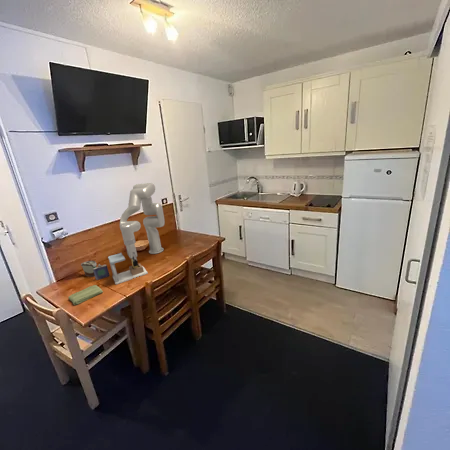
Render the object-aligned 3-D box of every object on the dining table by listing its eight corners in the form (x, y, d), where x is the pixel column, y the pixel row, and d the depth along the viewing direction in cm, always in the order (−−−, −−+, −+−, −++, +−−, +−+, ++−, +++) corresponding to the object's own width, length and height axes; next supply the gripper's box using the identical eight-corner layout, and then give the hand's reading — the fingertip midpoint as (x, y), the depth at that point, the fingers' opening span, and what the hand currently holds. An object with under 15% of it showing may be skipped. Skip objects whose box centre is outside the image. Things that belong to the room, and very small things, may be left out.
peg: (133, 270, 182) (129, 255, 179) (138, 268, 184) (134, 253, 181) (134, 271, 179) (130, 256, 176) (139, 270, 181) (136, 255, 178)
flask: (96, 280, 178) (92, 267, 175) (95, 279, 180) (91, 265, 177) (109, 276, 182) (106, 263, 179) (109, 274, 184) (105, 261, 181)
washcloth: (104, 292, 161) (103, 288, 160) (75, 307, 149) (73, 302, 148) (96, 286, 170) (95, 282, 169) (68, 299, 158) (66, 295, 157)
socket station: (112, 276, 181) (107, 256, 176) (142, 266, 191) (138, 247, 186) (115, 284, 169) (110, 263, 164) (147, 273, 180) (143, 253, 175)
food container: (103, 272, 189) (99, 260, 186) (96, 276, 184) (93, 264, 181) (90, 271, 193) (87, 259, 190) (84, 275, 188) (80, 263, 185)
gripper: (121, 240, 180) (127, 262, 186) (126, 246, 167) (132, 270, 172) (132, 237, 184) (137, 259, 189) (138, 243, 170) (143, 267, 176)
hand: (135, 264), depth 181 cm, fingers closed on peg, 3 cm apart
